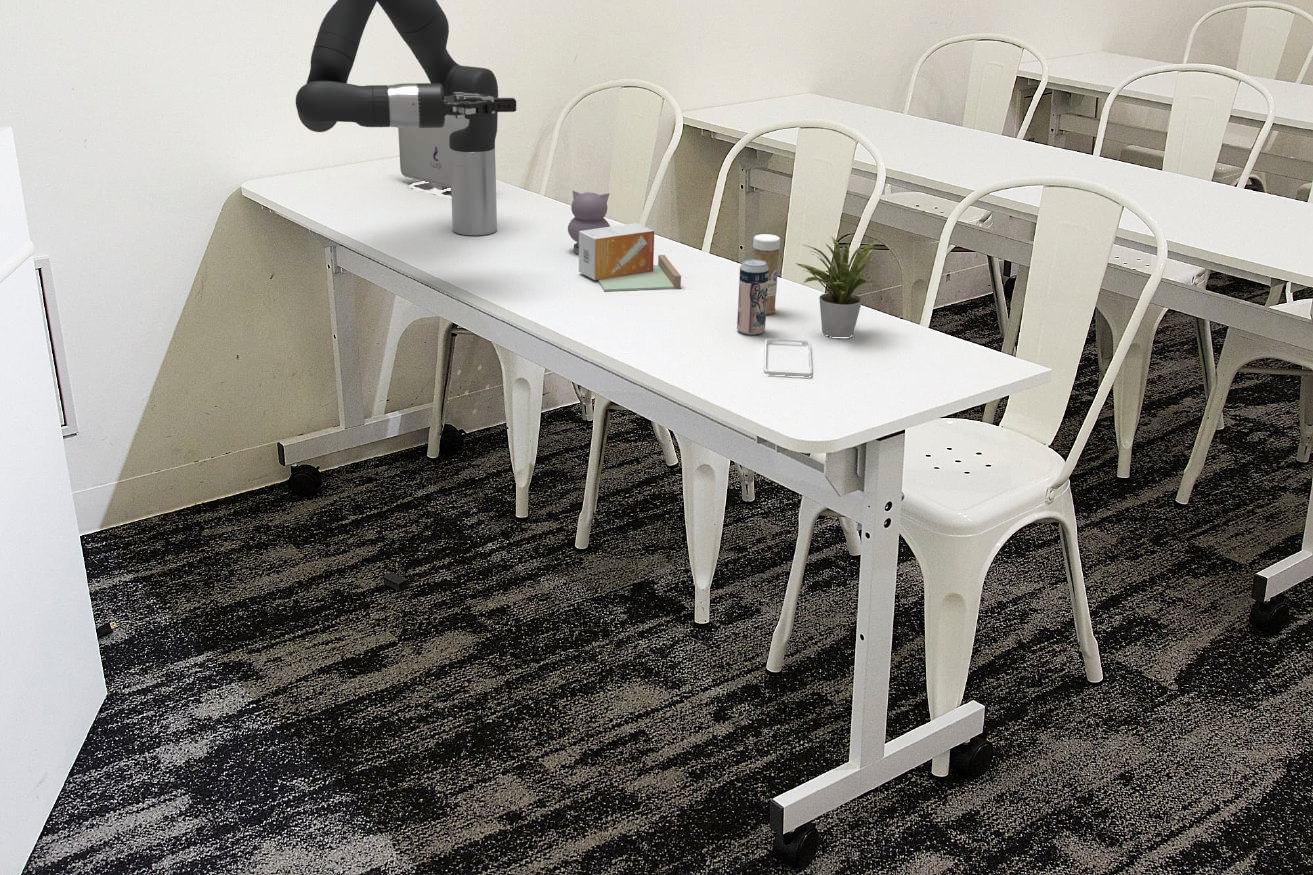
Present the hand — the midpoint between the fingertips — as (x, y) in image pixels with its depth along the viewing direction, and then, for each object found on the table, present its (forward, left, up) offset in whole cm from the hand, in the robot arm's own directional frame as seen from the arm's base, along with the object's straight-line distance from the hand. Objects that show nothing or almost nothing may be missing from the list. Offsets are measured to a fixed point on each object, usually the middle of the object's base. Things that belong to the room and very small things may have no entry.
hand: (515, 104), depth 231 cm
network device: (-72, -9, -32) cm, 80 cm away
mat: (+2, +21, -32) cm, 38 cm away
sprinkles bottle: (+24, +40, -32) cm, 57 cm away
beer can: (+34, +35, -32) cm, 58 cm away
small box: (+1, +12, -28) cm, 30 cm away
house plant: (+36, +50, -32) cm, 70 cm away
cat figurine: (-17, +16, -32) cm, 40 cm away
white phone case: (+48, +37, -33) cm, 69 cm away
